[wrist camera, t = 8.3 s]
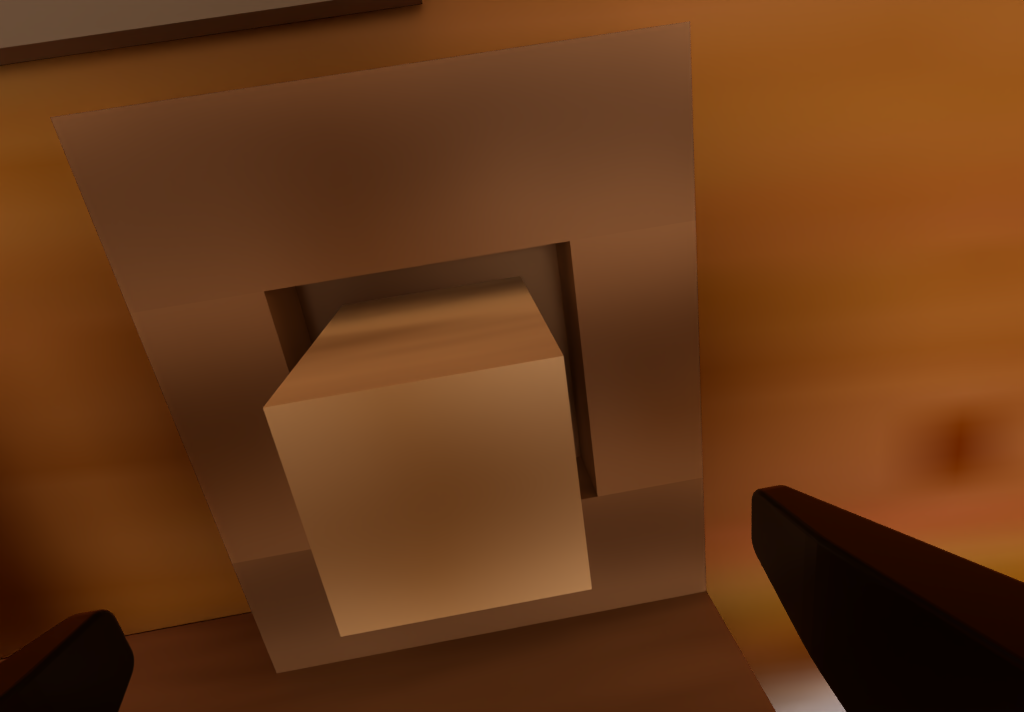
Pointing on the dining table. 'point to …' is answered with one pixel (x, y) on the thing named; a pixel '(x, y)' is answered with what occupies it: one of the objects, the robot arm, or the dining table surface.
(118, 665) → the robot arm
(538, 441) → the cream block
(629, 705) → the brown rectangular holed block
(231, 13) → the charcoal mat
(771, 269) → the dining table surface
